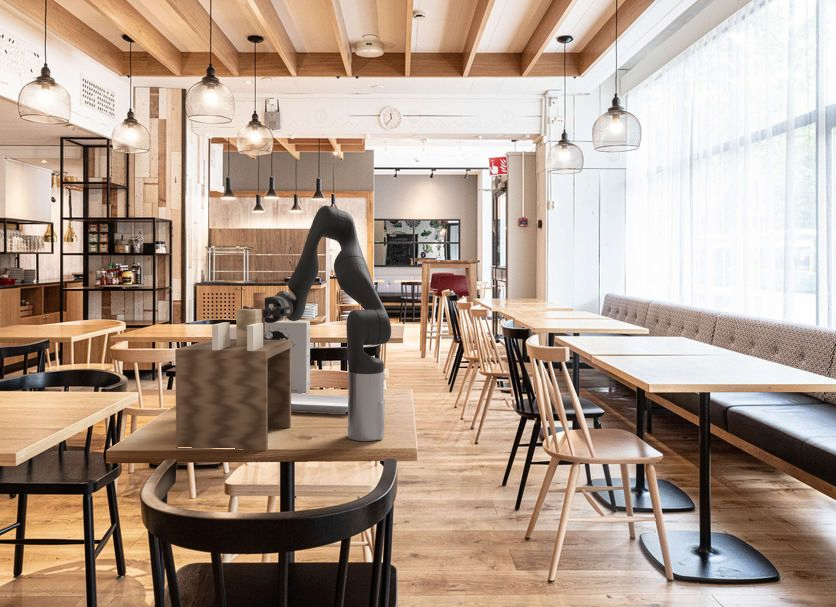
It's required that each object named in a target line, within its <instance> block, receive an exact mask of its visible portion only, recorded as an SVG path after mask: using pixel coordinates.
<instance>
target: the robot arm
mask: <svg viewBox="0 0 836 607" xmlns="http://www.w3.org/2000/svg"><path fill="white" fill-rule="evenodd" d="M323 238H325V239H329V240H333V241H335V242H337V243H338V245H339V246H340V251H339V252H338V254H337V255H336V257H335V259H334V262H333V270H334V275H335V278H336V281H337V283H338V285H339V287H340V289H341V290H342V291H343V292H344V293H345V294H346V295H348V297H350V298H351V299H352V300H353V301H355V303H357V304H358V305H360V306H361V307H362V309H353V310H351V311H349V313H348V315H347V319H346V342H347V344H346V346H347V347H346V348H347V366H348V367H347V368H348V371H347V374H348V375H347V385H348V386H347V396H348V412H347V438H348V439H350V440H353V441H360V442H371V441H381V440H383V438H384V436H385V408H386V407H385V405H386V404H385V398H384V390H385V389H384V386H385V378H384V377H385V366H384V365H385V364H384V363H385V362H384V361H383V360H382V359H380V358H377V357H374V356H372V355H369V354H368V353H366V352H365V350H364V346H378V345H384V344H387V343H388V342H389V341H390V339H391V337H392V324H391V320H390V317H389V315H388V312H387V310H386V307H385V306H384V304H383V302H382V300H381V298H380V296H379V294H378V292H377V290H376V287H375V285H374V282H373V279H372V277H371V274H370V271H369V268H368V264H367V262H366V259H365V257H364V255H363V254H364V253H363V251H362V248H361V245H360V242H359V238H358V234H357V229H356V224H355V221H354V218H353V216H352V215H351V214H350V212H347V211H346V210H345V211H344V210H342V209H339V208H336V207H333V206H331V205H322V206H320V207H319V208H318V210H317V212H316V214H315V215H314V217H313V220H312V223H311V226H310V228H309V231H308V233H307V237H306V239H305V242H304V246H303V249H302V252H301V255H300V258H299V260H298V263H297V264H296V266H295V268H294V270H293V272H292V274H291V276H290V277H289V279H288V282H287V287H288V289H289V291H290V292H291V293H292V294H291V293H289V292H288V291H285V290H281V291H278V292H277V293H276V294H275V295H274V296H273V295H272V296H266V297H265V309H263V317H265V322H266V323H274V322H278V321H284V319H287V320H288V321H300V319H301V318H302V317H303V316H304V314H305V311H306V306H307V300H308V296H309V294H310V293H309V292H310V290H311V288H312V286H313V285H314V283H315V281H316V279H317V277H318V274H319V270H320V269H319V266H320V265H319V257H318V249H319V248H318V247H319V244H320V242H321V239H323ZM293 294H294V295H293ZM242 309H253V305H252V306H247V305H243V306H242Z"/></svg>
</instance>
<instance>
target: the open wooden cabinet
mask: <svg viewBox="0 0 836 607" xmlns="http://www.w3.org/2000/svg"><path fill="white" fill-rule="evenodd" d="M174 350H175V357H174V358H175V364H174V365H175V448H176V447H192V448H235V449H244V450H243V451H258V452H259V451H260V452H263V451H264V452H266V451H267V450H268V446H269V445H268V438H269V437H268V436H269V434H268V432H269V431H268V430H269V429H268V428H276V427H278V428H282V429H283V428H284V429H285V428H287V429H290V428H291V427H292V412H291V340H265V341H263V347H262V348H259V349H257V350H254V351H247V346H242V345H236V339H230V346H229V347H226V348H223V349H221V350H212V338H211V339H208V340H204V341H199V342H197V343H192V344H189V345H186V346H183V347H180V348H176V349H174Z"/></svg>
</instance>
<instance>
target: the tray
mask: <svg viewBox="0 0 836 607" xmlns="http://www.w3.org/2000/svg"><path fill="white" fill-rule="evenodd" d="M306 412H312V414H325V413H333V414H332V415H346V414H347V413H348V395H330V394H329V395H328V394H311V393H310V394H309V393H307V394H295V393H291V413H306ZM346 412H347V413H346Z"/></svg>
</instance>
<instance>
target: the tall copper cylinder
mask: <svg viewBox="0 0 836 607" xmlns="http://www.w3.org/2000/svg"><path fill="white" fill-rule="evenodd" d="M252 295H253V296H252V297H253V299H252V302H253V303H252V304H253V305H252V306H253V309H243V308H240V309H236V310H235V311H236V312H235V314H236V318H235V319H236V322H235V323H236V326H235V327H236V345H242V346H247V326H248V325H252V324H255V323H263V341H265V317H263V309H265V298H266V297H265V295H266V293H265V292H253V294H252Z"/></svg>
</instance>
